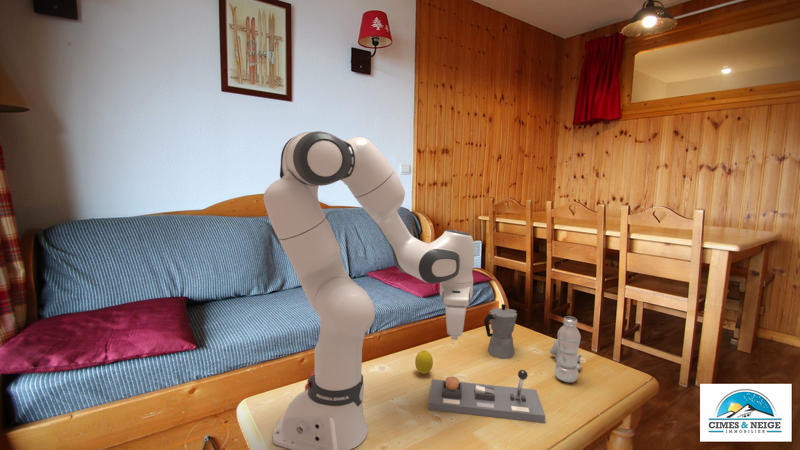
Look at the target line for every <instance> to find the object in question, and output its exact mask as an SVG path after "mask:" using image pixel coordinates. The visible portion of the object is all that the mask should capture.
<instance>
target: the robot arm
mask: <svg viewBox="0 0 800 450" xmlns="http://www.w3.org/2000/svg"><path fill="white" fill-rule="evenodd" d="M279 177H280V178H279V179H277V180H275V181H273V182H272V183H271V184H270V185H269V186H268V187H267V188H266V190H265V191H264V194H263V203H264V206H265V210H266V213H267V216H268V219H269V221H270V224H271V227H272V228H273V231H274V233H275V235H276V237H277V240H278V241H279V243H280V246H281V247H282V248H283V251H284V253H285V254H286V256H287V259H288V260H289V262H290V264H291V266H292V268H293V270H294V272H295V274H296V277H297V279H298V282H299V283H300V286H301V288H302V290H303V292H304V294H305V297H306V299H307V301H308V303H309V305H310V306H311V308H312V309H313V310H314V311H315V312H316V314H317V315H318V319H319V324H320V329H319V330H320V331H319V336H318V340H317V343H316V345H315V347H314V369H313V370H312V371H311V373H310V377H308V379H307V382H306V384H305V386H304V391H302V392H300V393H299V394H298V395H296V396H295V397H294V398H293V399H292V400H291V401H290V403H289V404H288V406H287V408H286V410H285V412H284V414H283V416H282V417H281V418H280V419H279V420H278V422H277V424H276V425H275V427H274V430H273V434H272V443H273V444H274V445H276V446H278V447H279V446H280V447H282V448H285V449H289V450H353V449H355V448H356V447H358V446H359V445H361V444H362V443H363V442H364V441H365V439H366V437H367V436H368V432H369V428H368V424H367V421H366V418H365V412H364V405H363V402H364V401H363V400H364V395H365V391H364V389H365V388H364V387H365V384H364V376H363V374H362V371H363V370H362V369H363V368H362V364H363V363H362V362H363V360H362V359H363V356H362V355H363V352H362V351H363V343H364V339H365V336H366V332H367V331H369V329H370V328H371V327H372V325H373V324H374V320H375V316H376V308H375V304H374V302H373V300H372V299H371V297H370V295H369V294H368V292H367V291H366V290H365V289H364V288H363V287H361V286H360V285H358V284H357V283H356V282H355V281H354V280H353V279H352V278H351V276H349V274H348V272H347V271H346V268H345V265H344V263H343V260H342V259H343V258H342V255H341V247H340V244H339V242H338V239H337V238H336V236H335V234H334V232H333V229H332V227H331V226H330V223H329V221H328V219H327V216H326V215H325V213H324V210H323V208H322V207H321V205H320V201H319V197H318V195H319V194H318V193H319V192H318V191H319V187H324V186H328V185H331V184H334V183H337V182H338V181H341V182H343V184H345V185H346V186H347V188H348V190H349V191H350V192H351V194H352V195H353V197H354V198H355V199H356V201H357V202H358V204H359V205H360V206H361V207H362V208H363V210H364V211H365V212H366V213H367V214H368V215H369V216H370V217H371V219H372V220H373V221H374V222H375V224H376V226H377V228H378V229H379V231H380V232H381V233H382V235H383V237H384V239H385V240H386V242H388V244H389V246H390V249H391V250H392V251H391V252H392V256H393V261H394V264H395V266H396V268H397V269H398V270H399V271H400V272H402V273H405V274H406V275H409V276H410V275H411V276H412V277H414V278H416V279H417V280H420V281H422V282H424V283H427V284H433V285H436V284H439V295H440V297H441V299H442V305H443V306H444V307H445V320H446V321H445V324H446V333H447V335H448V336H450V339H451V340H452V341H458V339H459V337H461V336H463V332H464V326H465V319H466V312H467V307H469V306H470V305H469V304H470V301H471V299H472V298H473V296H474V293H473V292H474V290H473V289H474V276H473V270H474V269H473V268H474V265H475V243H474V239H473V236H472V235H471V234H470V233H468V232H464V231H460V230H456V229H446V230H444V232H443V233H442V235H441V236H439V237H438V238H436V239H435V240H433V241H431V242H425V241H422V240H421V239H418V238H417V237H414V236H413V235H412V234H411V232H410V231H409V229H408V228H407V226H406V225H405V222H404V221H403V219H402V218H401V216H400V214H399V209H400V208H401V207H402V205H403V203H404V201H405V196H406V191H405V189H404V186H403V184H402V181H401V179H400V178H399V177H400V176H398V174H397V172H396V171H395V170H394V167H392V165H391V163H390V162H389V161H388V160H387V158H386V157H385V156H384V155H383V153H382V152H381V151H380V150H379V149H378V148H377V146H375V144H374V143H372V141H371V140H369V139H368V138H366V137H363V136H355V137H352V138H349V139H346V140H343V139H341V138H339V137H337V136H335V135H333V134H331V133H329V132H326V131H321V130H320V131H305V132H302V133H299V134H297V135H295V136H293V137H292V138H290V139H288V140H287V142H286V143H285V144H284V146H283V147H282V150H281V154H280V170H279Z"/></svg>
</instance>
